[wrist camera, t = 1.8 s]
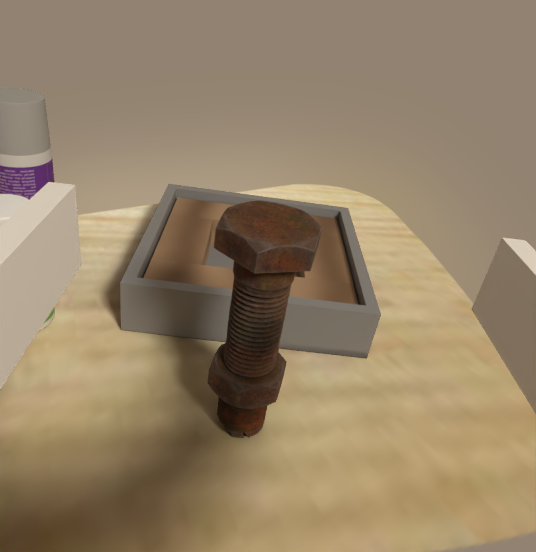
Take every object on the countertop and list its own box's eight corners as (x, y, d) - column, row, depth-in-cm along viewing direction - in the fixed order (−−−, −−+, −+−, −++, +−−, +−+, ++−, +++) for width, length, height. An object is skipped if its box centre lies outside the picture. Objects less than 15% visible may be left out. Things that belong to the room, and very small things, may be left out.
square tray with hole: (139, 316, 40) (139, 286, 38) (176, 222, 55) (177, 197, 53) (352, 341, 41) (360, 312, 39) (331, 242, 56) (336, 218, 54)
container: (73, 261, 46) (59, 98, 38) (32, 283, 43) (8, 106, 35) (36, 245, 48) (16, 84, 40) (-6, 264, 44) (-38, 92, 36)
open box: (121, 329, 39) (119, 282, 37) (167, 220, 56) (168, 183, 54) (366, 358, 40) (380, 314, 38) (339, 243, 57) (348, 208, 55)
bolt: (269, 389, 36) (306, 200, 28) (292, 445, 32) (343, 243, 24) (190, 399, 34) (206, 199, 26) (204, 460, 30) (227, 246, 22)
